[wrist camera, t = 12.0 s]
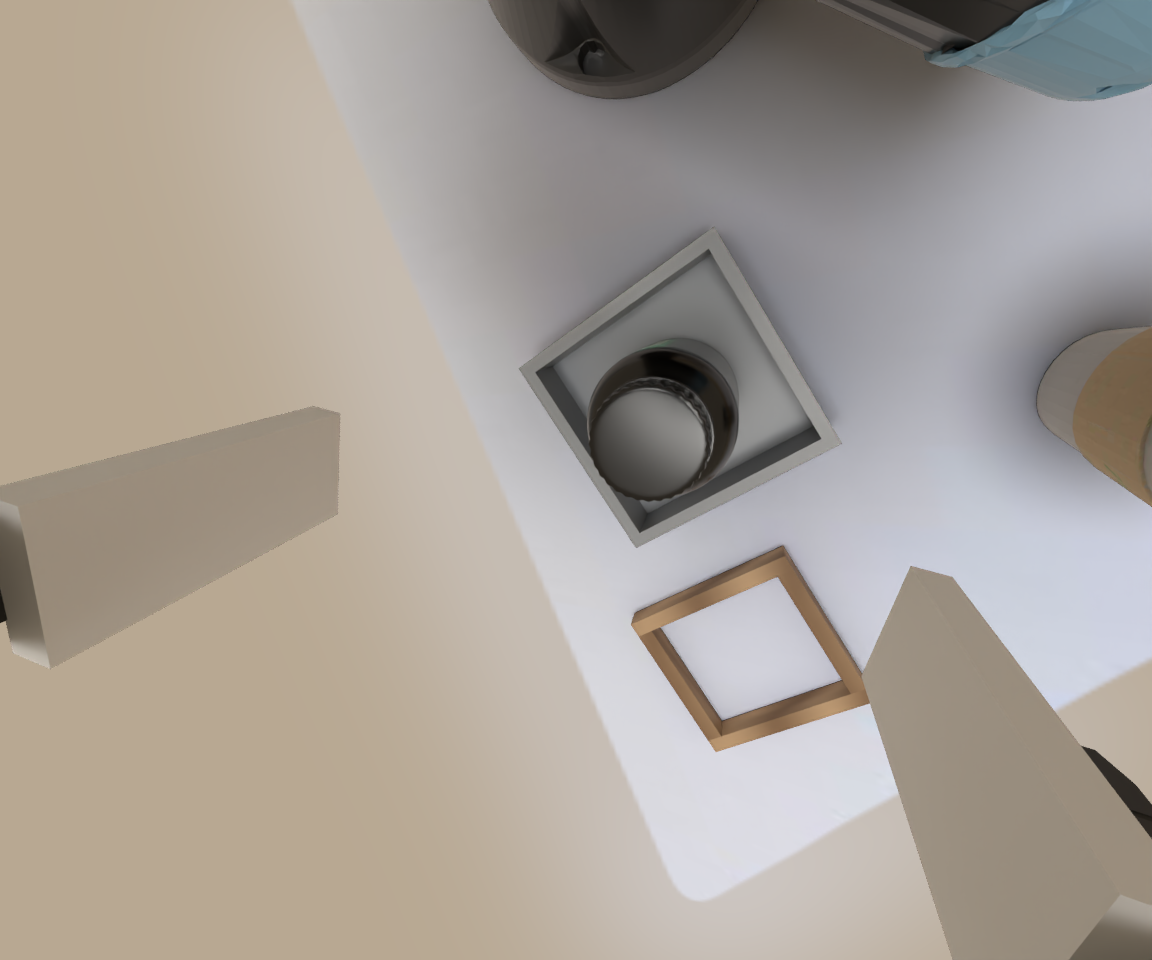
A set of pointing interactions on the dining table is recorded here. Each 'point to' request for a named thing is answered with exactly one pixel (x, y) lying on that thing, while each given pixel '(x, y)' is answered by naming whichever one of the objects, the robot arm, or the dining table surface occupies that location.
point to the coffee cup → (1105, 404)
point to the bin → (719, 319)
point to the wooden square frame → (771, 716)
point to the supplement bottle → (664, 419)
